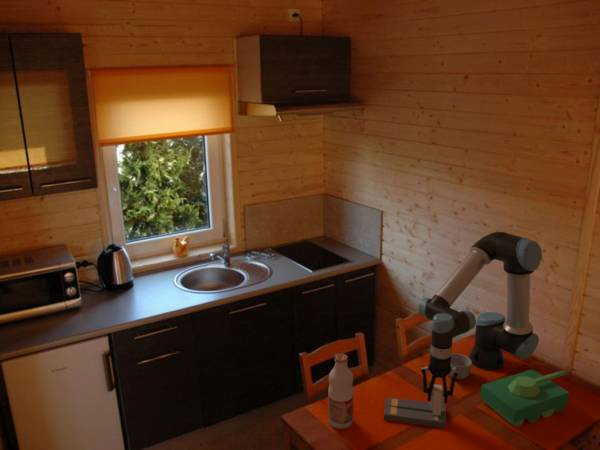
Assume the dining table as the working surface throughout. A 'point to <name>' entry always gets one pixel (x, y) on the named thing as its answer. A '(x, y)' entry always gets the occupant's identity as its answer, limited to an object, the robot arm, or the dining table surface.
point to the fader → (437, 400)
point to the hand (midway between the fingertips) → (436, 408)
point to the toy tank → (525, 396)
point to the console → (413, 412)
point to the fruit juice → (340, 394)
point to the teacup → (460, 365)
